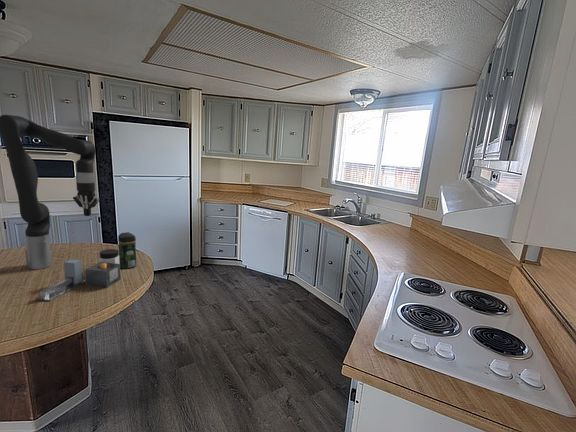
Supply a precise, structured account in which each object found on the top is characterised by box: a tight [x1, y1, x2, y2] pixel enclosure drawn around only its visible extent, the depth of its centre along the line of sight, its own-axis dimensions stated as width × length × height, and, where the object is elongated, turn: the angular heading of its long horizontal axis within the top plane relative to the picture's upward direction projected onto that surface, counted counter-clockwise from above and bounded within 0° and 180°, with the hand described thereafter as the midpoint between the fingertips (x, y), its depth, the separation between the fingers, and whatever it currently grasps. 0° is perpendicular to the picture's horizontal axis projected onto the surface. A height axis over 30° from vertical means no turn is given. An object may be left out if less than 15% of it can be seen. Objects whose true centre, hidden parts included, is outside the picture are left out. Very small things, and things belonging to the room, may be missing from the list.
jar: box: [98, 248, 120, 264], centre depth 152 cm, size 9×8×12 cm
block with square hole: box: [85, 262, 122, 288], centre depth 142 cm, size 10×10×8 cm
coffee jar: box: [117, 231, 137, 269], centre depth 163 cm, size 10×8×19 cm
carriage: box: [63, 258, 83, 285], centre depth 137 cm, size 5×4×10 cm
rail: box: [35, 272, 86, 302], centre depth 132 cm, size 6×21×4 cm, turn 175°
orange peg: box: [100, 263, 107, 268], centre depth 142 cm, size 3×3×8 cm
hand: (87, 215), depth 150 cm, fingers closed
